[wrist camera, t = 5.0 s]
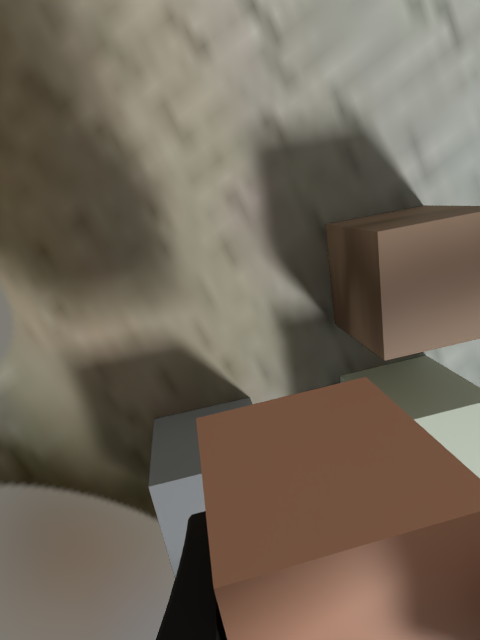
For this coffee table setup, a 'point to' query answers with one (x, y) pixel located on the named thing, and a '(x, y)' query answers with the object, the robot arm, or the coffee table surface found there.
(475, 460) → the sage block
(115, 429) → the coffee table surface
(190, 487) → the slate block
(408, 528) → the terracotta block
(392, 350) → the walnut block
